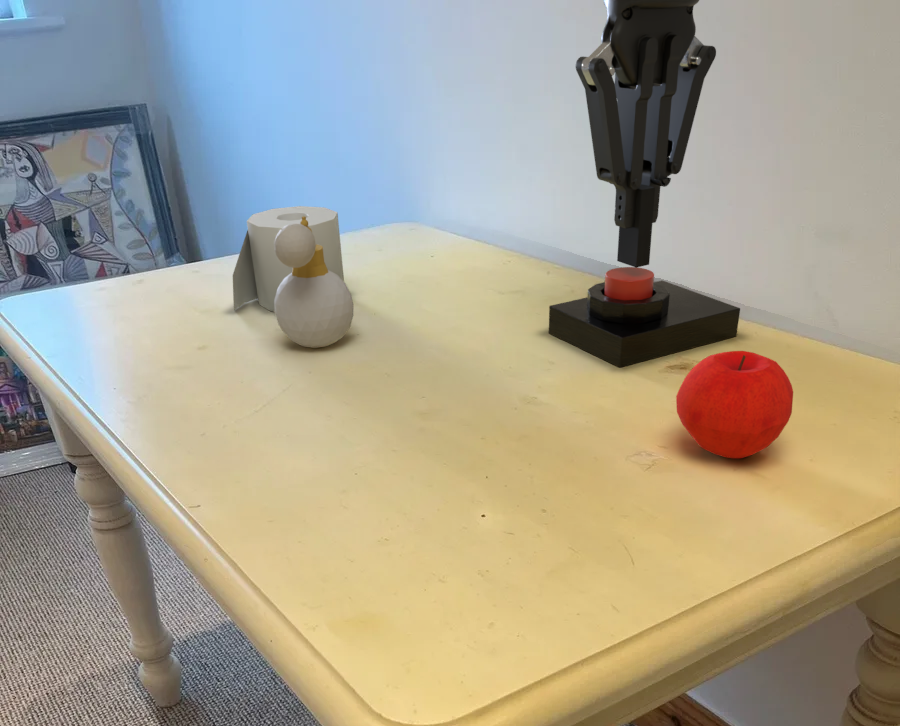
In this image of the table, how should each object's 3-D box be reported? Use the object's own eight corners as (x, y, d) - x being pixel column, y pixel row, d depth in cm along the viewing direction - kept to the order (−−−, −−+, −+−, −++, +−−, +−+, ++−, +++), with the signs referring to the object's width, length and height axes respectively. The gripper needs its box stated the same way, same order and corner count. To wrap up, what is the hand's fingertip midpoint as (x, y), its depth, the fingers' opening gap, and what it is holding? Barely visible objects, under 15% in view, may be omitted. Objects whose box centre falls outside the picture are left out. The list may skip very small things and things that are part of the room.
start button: (631, 286, 89) (633, 264, 88) (662, 297, 86) (664, 275, 85) (594, 294, 87) (595, 272, 86) (624, 306, 84) (626, 283, 83)
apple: (662, 467, 67) (673, 368, 63) (680, 423, 73) (691, 330, 69) (778, 483, 65) (798, 381, 60) (787, 436, 71) (805, 340, 66)
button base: (659, 306, 96) (664, 261, 94) (736, 336, 89) (743, 288, 86) (548, 333, 91) (549, 286, 88) (619, 367, 83) (623, 317, 80)
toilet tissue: (215, 313, 99) (200, 228, 94) (304, 281, 108) (295, 202, 103) (273, 329, 95) (261, 241, 90) (362, 294, 103) (355, 212, 98)
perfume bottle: (347, 326, 95) (335, 200, 88) (370, 358, 87) (359, 223, 80) (273, 336, 93) (255, 208, 86) (290, 369, 85) (272, 232, 78)
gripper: (686, -56, 77) (661, 242, 90) (556, -49, 71) (550, 266, 85) (754, -59, 71) (716, 259, 85) (618, -51, 66) (601, 285, 80)
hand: (633, 262), depth 85 cm, fingers closed
